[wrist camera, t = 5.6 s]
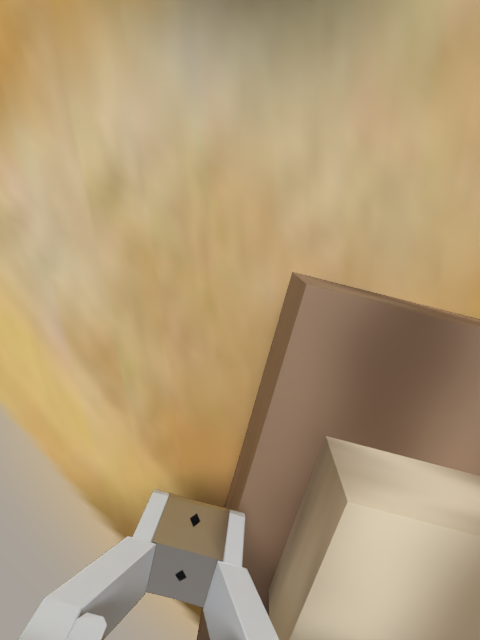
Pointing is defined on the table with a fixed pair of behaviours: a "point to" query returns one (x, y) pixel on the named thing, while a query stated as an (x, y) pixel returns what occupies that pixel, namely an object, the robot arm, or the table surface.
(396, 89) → the table surface
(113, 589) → the robot arm
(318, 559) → the cream block
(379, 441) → the walnut board
